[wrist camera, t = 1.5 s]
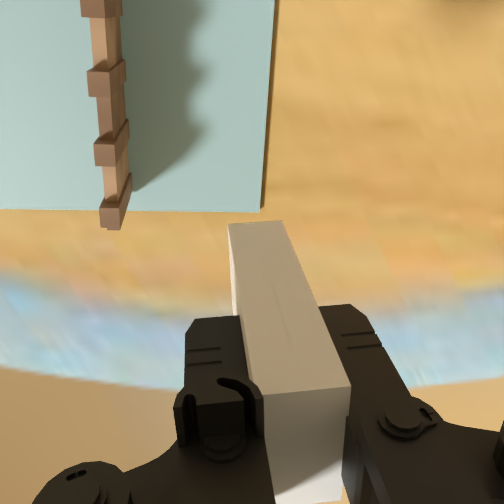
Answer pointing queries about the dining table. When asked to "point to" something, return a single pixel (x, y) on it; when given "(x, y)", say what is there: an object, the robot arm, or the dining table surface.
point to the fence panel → (109, 108)
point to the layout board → (137, 104)
